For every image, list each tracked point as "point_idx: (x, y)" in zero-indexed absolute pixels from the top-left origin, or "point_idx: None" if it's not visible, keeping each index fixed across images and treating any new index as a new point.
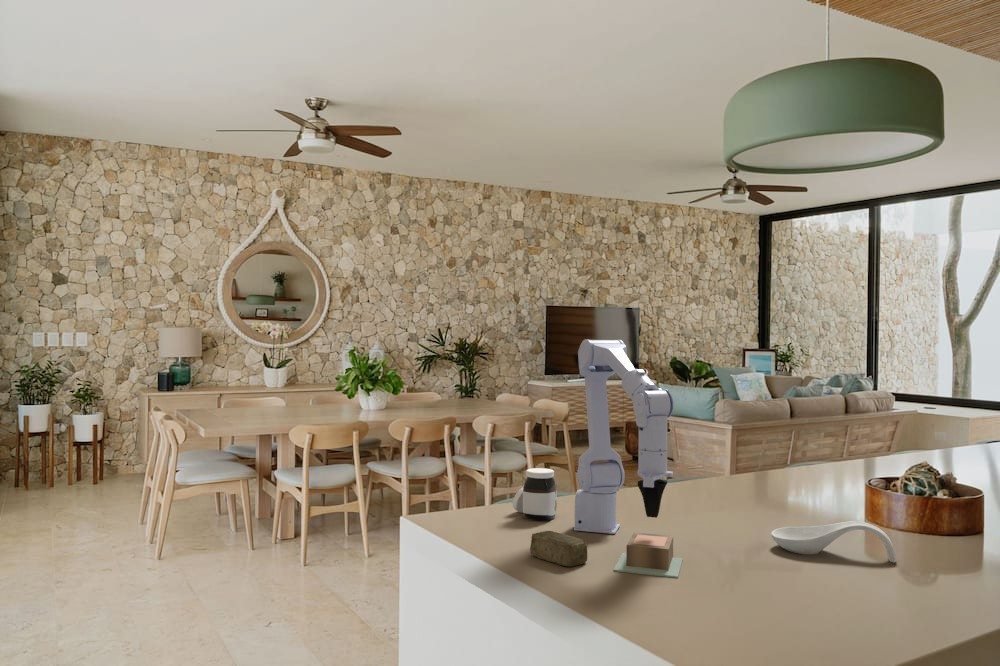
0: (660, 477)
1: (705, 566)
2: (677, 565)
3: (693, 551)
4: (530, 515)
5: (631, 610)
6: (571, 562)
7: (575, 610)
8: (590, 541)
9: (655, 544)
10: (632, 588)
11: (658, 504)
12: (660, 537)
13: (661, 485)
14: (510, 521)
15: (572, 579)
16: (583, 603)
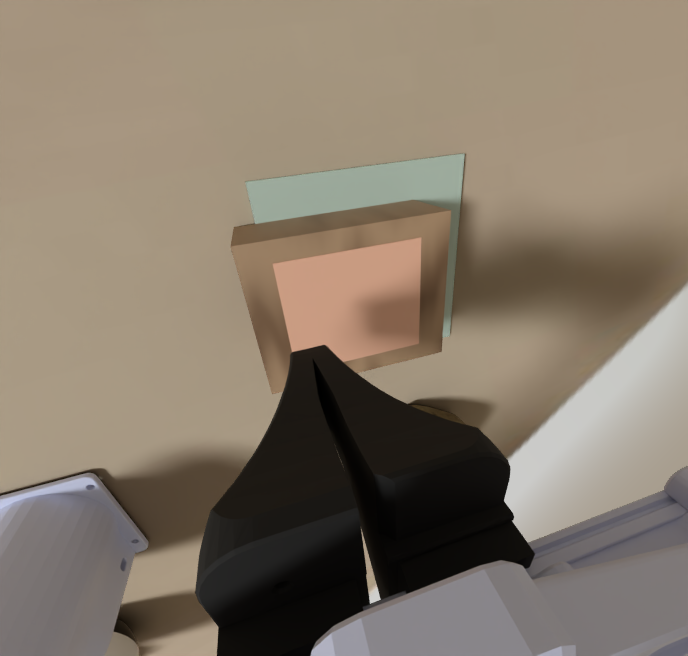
0: (669, 569)
1: (286, 61)
2: (349, 181)
3: (76, 160)
4: (136, 640)
5: (679, 211)
6: (456, 417)
7: (664, 304)
8: (220, 475)
9: (405, 275)
10: (557, 252)
11: (360, 380)
12: (294, 289)
13: (500, 475)
14: (176, 632)
15: (515, 376)
16: (635, 306)
